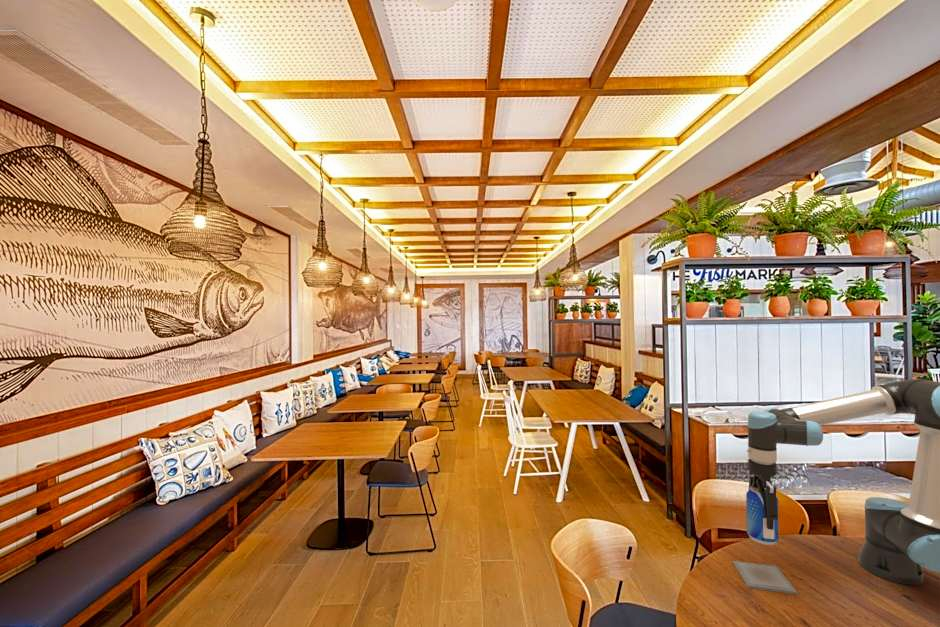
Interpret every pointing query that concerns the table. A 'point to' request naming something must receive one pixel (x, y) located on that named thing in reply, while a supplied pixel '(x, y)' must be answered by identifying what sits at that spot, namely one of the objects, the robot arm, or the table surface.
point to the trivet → (764, 577)
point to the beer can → (757, 518)
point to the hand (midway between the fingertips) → (762, 530)
